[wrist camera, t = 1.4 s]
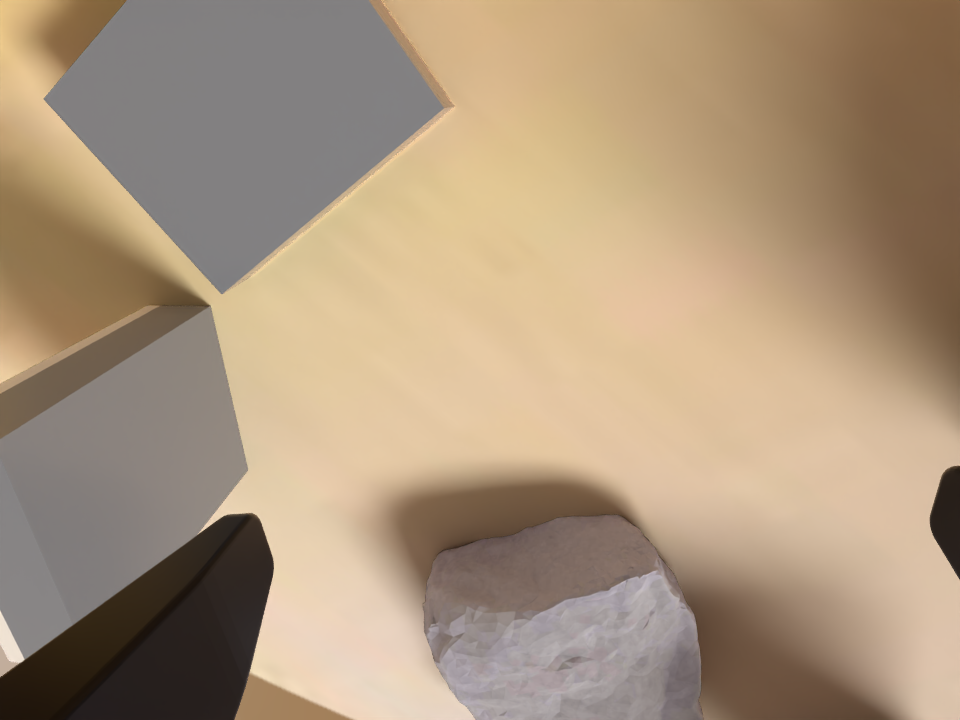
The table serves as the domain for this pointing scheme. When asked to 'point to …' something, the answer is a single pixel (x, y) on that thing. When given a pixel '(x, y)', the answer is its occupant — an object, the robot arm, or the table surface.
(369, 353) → the table surface
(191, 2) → the twin tile
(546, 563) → the stone block
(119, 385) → the tile
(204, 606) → the robot arm
